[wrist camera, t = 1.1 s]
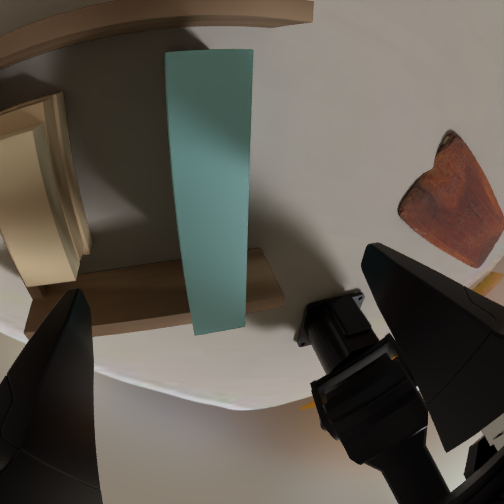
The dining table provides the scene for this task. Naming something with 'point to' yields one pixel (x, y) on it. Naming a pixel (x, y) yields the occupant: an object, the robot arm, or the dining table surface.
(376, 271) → the robot arm
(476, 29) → the dining table surface
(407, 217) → the wooden tablet
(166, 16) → the walnut rack
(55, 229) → the offcut stack
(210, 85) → the teal sheet
